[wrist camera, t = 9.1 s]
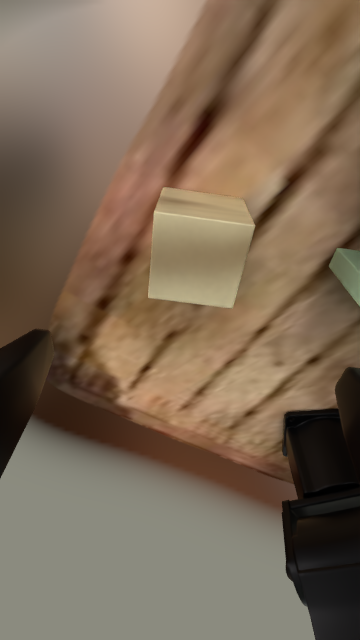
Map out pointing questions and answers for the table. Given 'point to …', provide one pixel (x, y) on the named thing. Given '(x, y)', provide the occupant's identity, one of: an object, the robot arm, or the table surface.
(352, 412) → the robot arm
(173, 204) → the block
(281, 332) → the table surface
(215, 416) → the table surface
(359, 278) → the drawer
